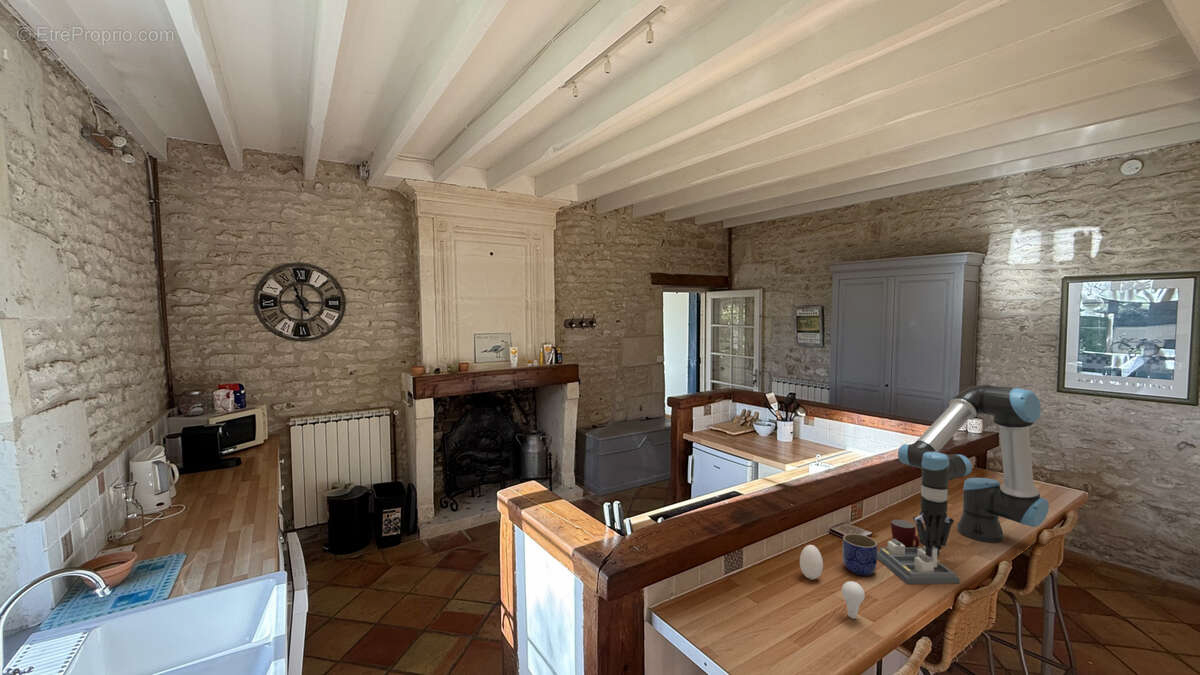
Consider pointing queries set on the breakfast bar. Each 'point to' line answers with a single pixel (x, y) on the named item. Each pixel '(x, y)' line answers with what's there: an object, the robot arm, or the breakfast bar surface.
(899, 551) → the tab
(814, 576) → the egg
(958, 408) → the robot arm
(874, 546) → the planter
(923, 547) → the tab
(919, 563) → the white and grey block
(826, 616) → the breakfast bar surface
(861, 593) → the lightbulb
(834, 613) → the breakfast bar surface
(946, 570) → the switch bank
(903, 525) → the mug
